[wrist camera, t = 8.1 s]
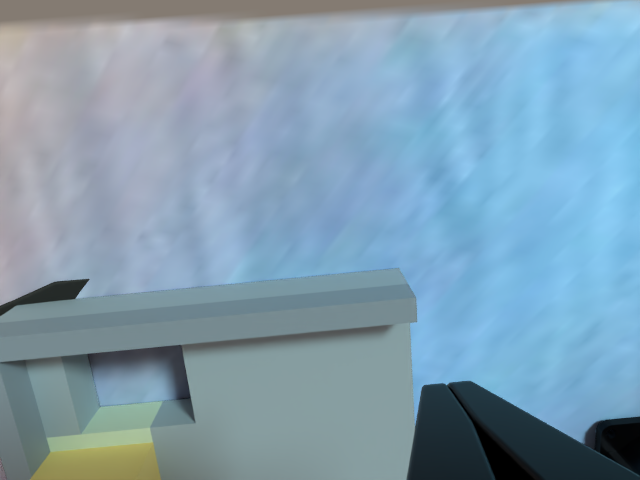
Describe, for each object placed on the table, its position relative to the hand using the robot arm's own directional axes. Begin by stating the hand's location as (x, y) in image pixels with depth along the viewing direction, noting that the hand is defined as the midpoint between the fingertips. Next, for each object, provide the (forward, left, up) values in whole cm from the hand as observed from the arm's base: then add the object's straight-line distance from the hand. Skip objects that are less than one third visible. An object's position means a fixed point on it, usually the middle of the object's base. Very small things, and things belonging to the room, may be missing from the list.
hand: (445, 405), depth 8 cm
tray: (+7, +10, -13) cm, 18 cm away
